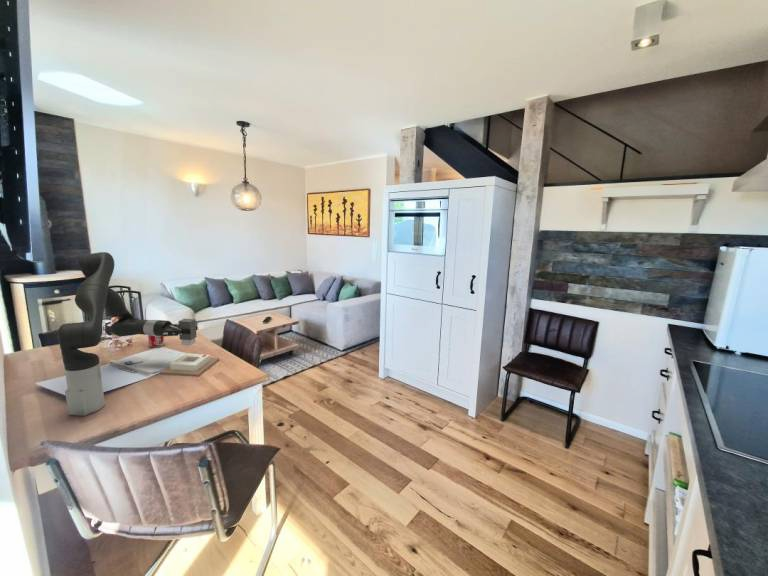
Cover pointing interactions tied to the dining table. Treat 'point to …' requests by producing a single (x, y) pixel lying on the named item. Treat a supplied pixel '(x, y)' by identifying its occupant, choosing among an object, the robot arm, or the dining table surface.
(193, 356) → the socket
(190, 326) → the plug
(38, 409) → the dining table surface
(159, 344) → the soda can
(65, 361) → the robot arm
